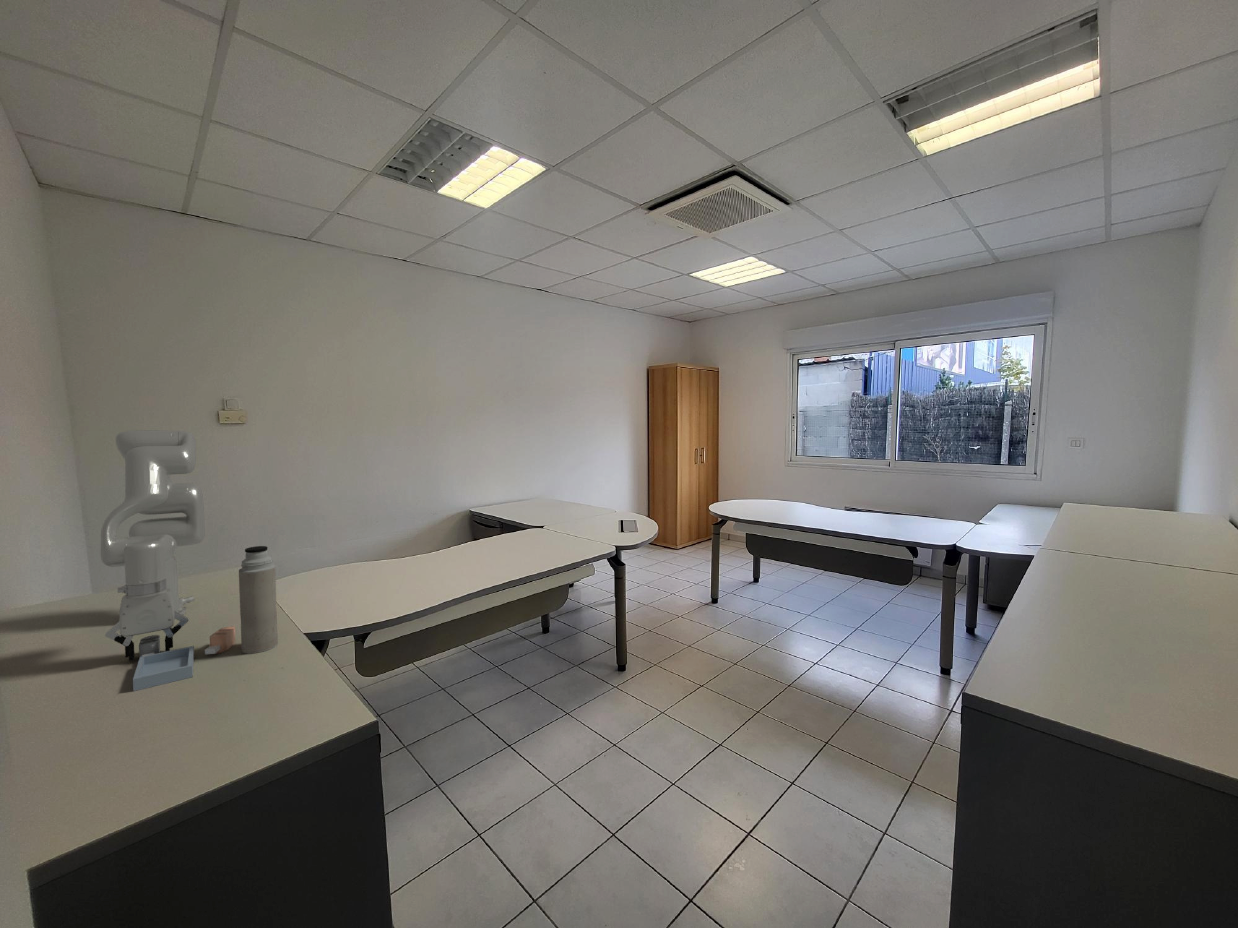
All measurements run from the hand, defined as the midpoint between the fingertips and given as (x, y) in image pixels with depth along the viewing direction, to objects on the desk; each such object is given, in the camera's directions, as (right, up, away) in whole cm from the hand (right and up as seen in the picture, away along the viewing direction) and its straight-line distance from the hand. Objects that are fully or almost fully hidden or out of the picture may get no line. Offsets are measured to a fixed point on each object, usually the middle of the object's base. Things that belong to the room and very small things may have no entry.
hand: (150, 654), depth 124 cm
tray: (+12, -1, -8) cm, 14 cm away
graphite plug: (+1, -1, -1) cm, 1 cm away
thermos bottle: (+24, -1, +6) cm, 25 cm away
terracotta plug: (+15, -1, +5) cm, 15 cm away
